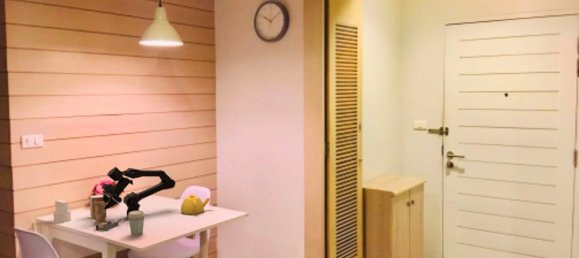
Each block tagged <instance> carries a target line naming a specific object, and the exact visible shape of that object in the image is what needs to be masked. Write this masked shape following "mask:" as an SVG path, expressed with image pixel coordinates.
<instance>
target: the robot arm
mask: <svg viewBox="0 0 579 258" xmlns="http://www.w3.org/2000/svg"><path fill="white" fill-rule="evenodd" d="M106 175H107V177H108V178H110V179H111V180H112V181H113V182H116V183H114V184H112V183H103V184H102V186H101V189H102V193H101V195H103V198H102V200H101V201H104V202H105V204H106V206H105V208H104V209H105V210H106V211H107V210H108V209H110V208H112V207H114V206H116V205H119V204H122V202H123V204H124V205H125V206H126V207H127V208H126V218H127V219H128V220H129V218H128V215H129V212H132V211H140V207H141V203H140V202H141V200H143V199H146V198H148V197H150V196H153V195H154V194H156V193H158V192H161V191H167V190H170V189H174V188H175V187H176V180H175V179H172V178H171V177H170V175H168V173H166V172H165V170H162V169H157V170H155V169H153V170H152V169H151V170H150V169H139V168H138V169H137V168H133V167H127V169H125V170H122V171H121V170H120V169H119V167H117V166H114V167H113V168H111V169H109V171H108V172H107V174H106ZM142 177H144V178H145V177H148V178H152V177H153V178H155V177H158V178H159V179H160V182H159V183H157V184H156V185H152V186H151V187H148V188H146V189H144V190H142V191H140V192H134V191H131V192H130V193H127V194H126V195H125V196H124V197H123V198H122V197H120V195H122V193H125V190H126V188H127V187H128V186H129V184H130V185H132V186H133V185H134V182H133V181H134V180H135V179H139V178H142Z"/></svg>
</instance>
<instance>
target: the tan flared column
mask: <svg viewBox="0 0 579 258" xmlns="http://www.w3.org/2000/svg"><path fill="white" fill-rule="evenodd" d="M104 208H105V202H104V201H99V202H95V216H96V219H95V222H96V223H97V224H101V223H104V222H106V218H107V216H106V217H105V209H104Z"/></svg>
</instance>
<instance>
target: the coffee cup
mask: <svg viewBox="0 0 579 258" xmlns="http://www.w3.org/2000/svg"><path fill="white" fill-rule="evenodd" d="M145 216H146V214H145V213H144V211H143V210H139V211H132V212H129V215H128V218H129V219H128V218H127V219H128V223H129V229H130V235H131V236H132V237H141V236H142V235H143V234H144V225H145V224H144V222H145Z"/></svg>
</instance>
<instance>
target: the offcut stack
mask: <svg viewBox="0 0 579 258" xmlns="http://www.w3.org/2000/svg"><path fill="white" fill-rule="evenodd" d="M104 226H107V223H101V224H99V227H98V230H97V231H101V232H104V231H103V227H104Z"/></svg>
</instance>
